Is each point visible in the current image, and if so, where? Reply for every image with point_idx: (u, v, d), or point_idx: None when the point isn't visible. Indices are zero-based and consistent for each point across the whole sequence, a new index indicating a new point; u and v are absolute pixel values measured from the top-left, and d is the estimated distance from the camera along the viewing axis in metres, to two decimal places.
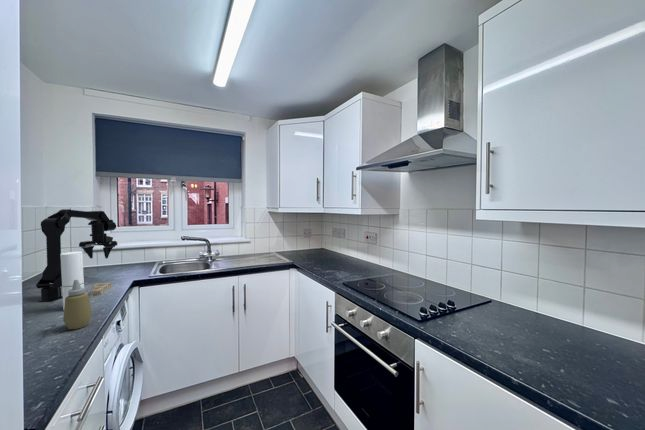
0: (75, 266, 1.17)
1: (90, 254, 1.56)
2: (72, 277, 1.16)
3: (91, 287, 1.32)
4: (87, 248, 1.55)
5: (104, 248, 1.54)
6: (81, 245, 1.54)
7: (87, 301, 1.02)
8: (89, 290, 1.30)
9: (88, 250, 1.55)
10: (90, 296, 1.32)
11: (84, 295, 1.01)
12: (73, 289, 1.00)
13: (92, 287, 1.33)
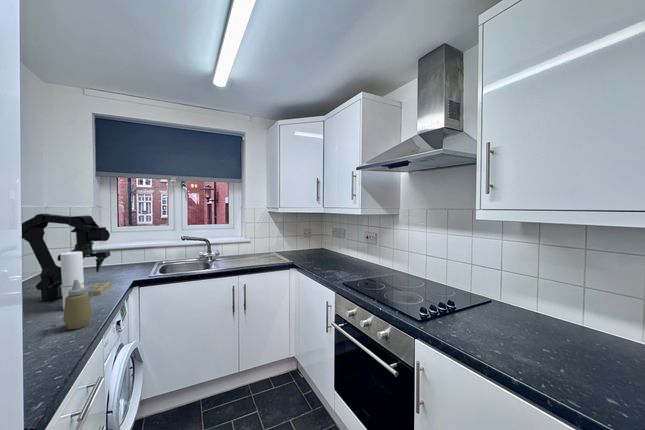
0: (75, 266, 1.17)
1: None
2: (72, 277, 1.16)
3: (91, 287, 1.32)
4: None
5: None
6: None
7: (87, 301, 1.02)
8: (89, 290, 1.30)
9: None
10: (90, 296, 1.32)
11: (84, 295, 1.01)
12: (73, 289, 1.00)
13: (92, 287, 1.33)
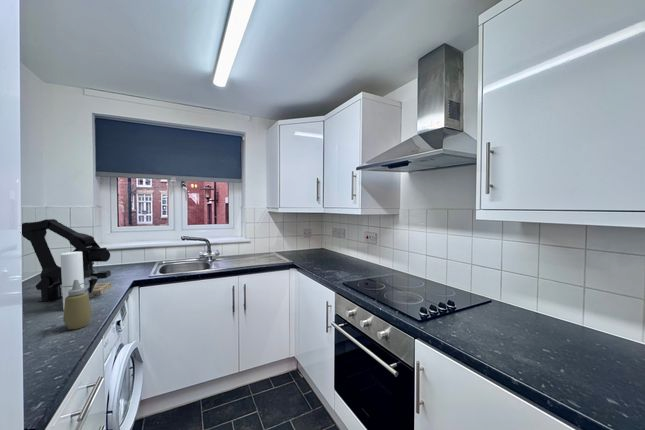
0: (75, 266, 1.17)
1: None
2: (72, 277, 1.16)
3: None
4: None
5: None
6: None
7: (87, 301, 1.02)
8: None
9: None
10: (90, 296, 1.32)
11: (84, 295, 1.01)
12: (73, 289, 1.00)
13: None
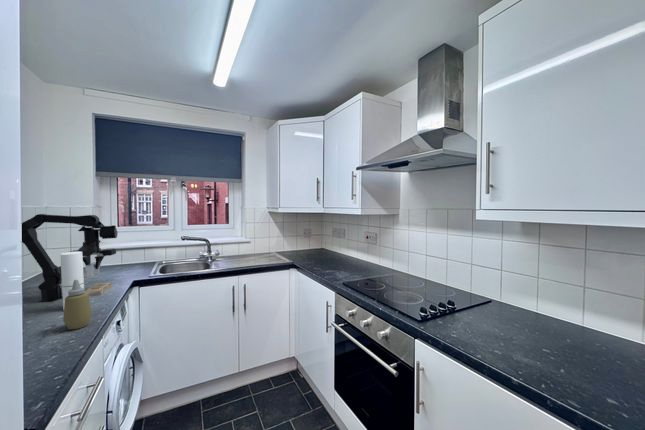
0: (75, 266, 1.17)
1: None
2: (72, 277, 1.16)
3: None
4: None
5: None
6: None
7: (87, 301, 1.02)
8: None
9: None
10: (97, 273, 1.39)
11: (84, 295, 1.01)
12: (73, 289, 1.00)
13: None
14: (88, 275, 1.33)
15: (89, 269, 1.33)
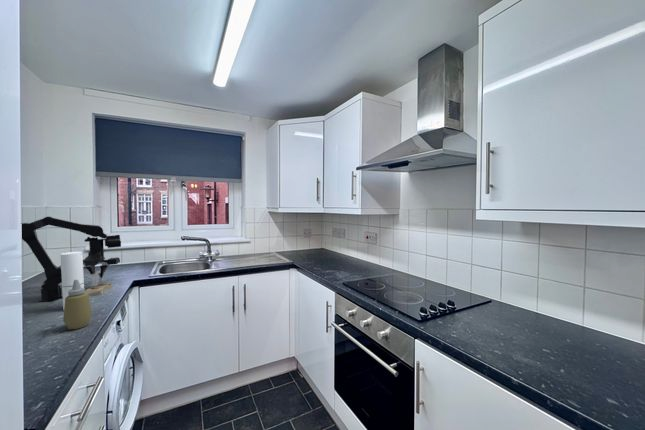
0: (75, 266, 1.17)
1: None
2: (72, 277, 1.16)
3: None
4: None
5: None
6: None
7: (87, 301, 1.02)
8: (100, 275, 1.42)
9: None
10: (101, 281, 1.44)
11: (84, 295, 1.01)
12: (73, 289, 1.00)
13: None
14: (93, 283, 1.38)
15: (94, 278, 1.38)
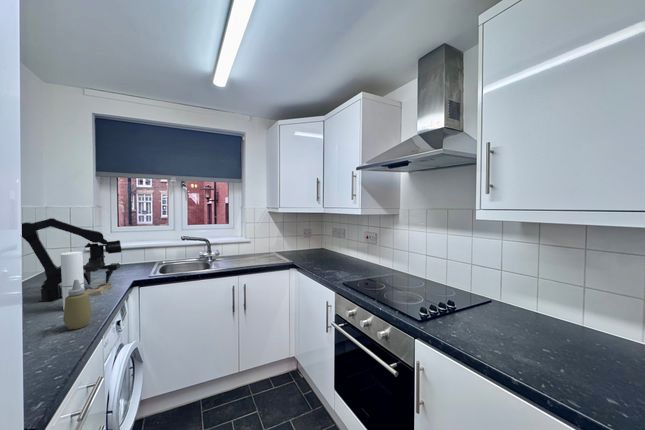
0: (75, 266, 1.17)
1: None
2: (72, 277, 1.16)
3: (101, 280, 1.43)
4: None
5: None
6: None
7: (87, 301, 1.02)
8: (100, 283, 1.42)
9: None
10: None
11: (84, 295, 1.01)
12: (73, 289, 1.00)
13: (102, 280, 1.44)
14: None
15: (94, 286, 1.38)
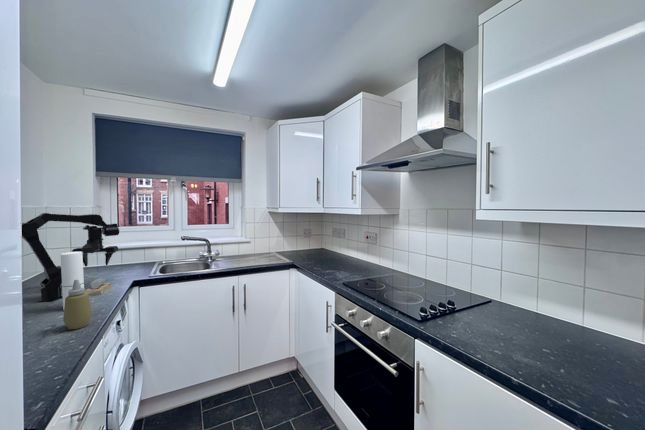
0: (75, 266, 1.17)
1: None
2: (72, 277, 1.16)
3: (102, 280, 1.43)
4: None
5: None
6: None
7: (87, 301, 1.02)
8: (101, 283, 1.42)
9: None
10: None
11: (84, 295, 1.01)
12: (73, 289, 1.00)
13: (103, 280, 1.44)
14: None
15: (95, 286, 1.38)
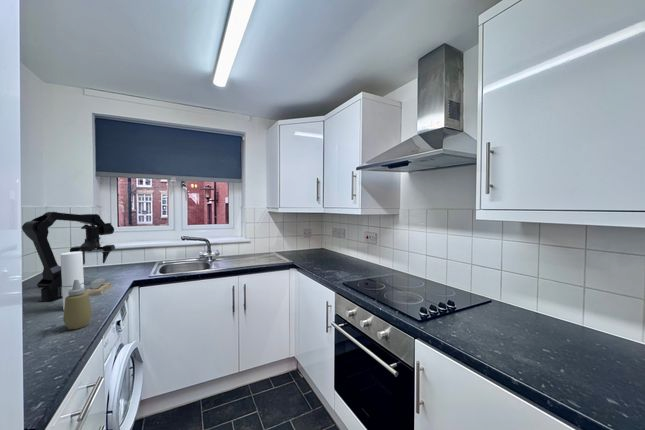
0: (75, 266, 1.17)
1: None
2: (72, 277, 1.16)
3: (102, 280, 1.43)
4: None
5: None
6: None
7: (87, 301, 1.02)
8: (101, 283, 1.42)
9: None
10: None
11: (84, 295, 1.01)
12: (73, 289, 1.00)
13: (103, 280, 1.44)
14: None
15: (95, 286, 1.38)
